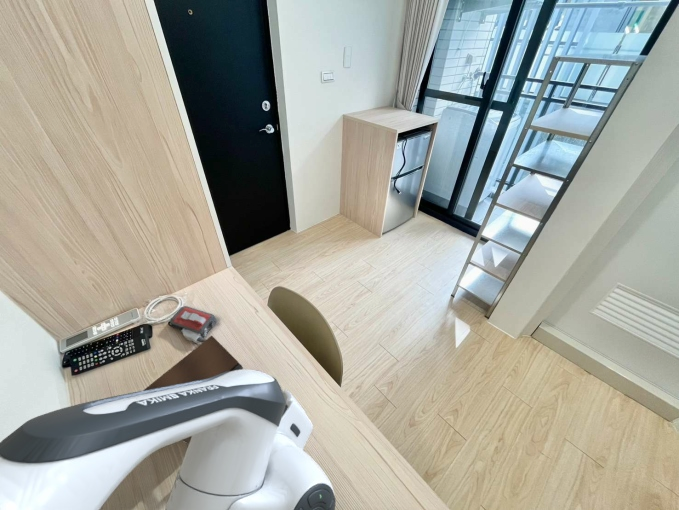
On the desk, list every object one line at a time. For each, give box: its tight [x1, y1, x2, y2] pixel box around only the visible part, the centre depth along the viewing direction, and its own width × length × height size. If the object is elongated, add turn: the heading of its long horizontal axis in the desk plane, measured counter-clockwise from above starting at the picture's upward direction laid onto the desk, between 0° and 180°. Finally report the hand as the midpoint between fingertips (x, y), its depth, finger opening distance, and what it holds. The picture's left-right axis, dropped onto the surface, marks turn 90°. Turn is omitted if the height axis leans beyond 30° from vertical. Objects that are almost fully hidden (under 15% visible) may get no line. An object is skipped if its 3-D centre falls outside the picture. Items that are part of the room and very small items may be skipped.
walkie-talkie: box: [167, 305, 217, 344], centre depth 79 cm, size 9×4×20 cm
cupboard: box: [142, 335, 244, 445], centre depth 60 cm, size 16×11×16 cm
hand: (242, 431), depth 53 cm, fingers open, 8 cm apart
